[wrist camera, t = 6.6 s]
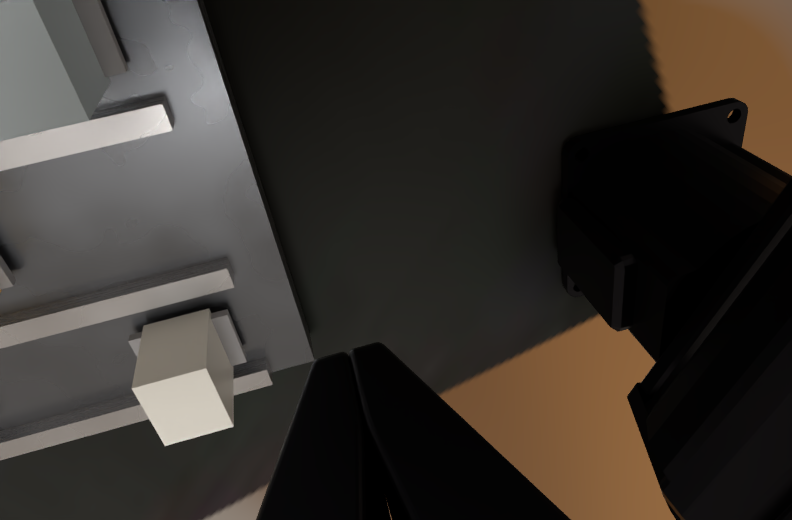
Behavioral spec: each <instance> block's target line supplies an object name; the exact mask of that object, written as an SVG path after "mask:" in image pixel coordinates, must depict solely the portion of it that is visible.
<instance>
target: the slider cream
mask: <svg viewBox="0 0 792 520" xmlns="http://www.w3.org/2000/svg"><path fill="white" fill-rule="evenodd" d="M128 342H129V344H130V346H131V347H132V349H133V351H134V353H135V355H136V356H137V362H136V367H135V373H134V378H133V383H132V388H131V389H132V390H133V392H134V394H135V395H136V397H137V399H138V401H139V402H140V404H141V406H142V407H143V409H144V411H145V413H146V414H147V416H148V418H149V419H150V421H151V423H152V425H153V426H154V428H155V430H156V431H157V433H158V435H159V436H160V438H161V440H162V442H163V443H164V445H165V446H167V445H170V444H174V443H177V442H181V441H184V440H188V439H192V438H195V437H199V436H202V435H206V434H209V433H213V432H216V431H220V430H223V429H227V428H230V427H234V391H233V366H234V365H238V364H241V363H245V362H247V355H246V353H245V351H244V348H243V346H242V343H241V341H240V338H239V336H238V334H237V331H236V329H235V326H234V324H233V321H232V319H231V317H230V314H229V312H228V309H226V310H222V311H218V312H214V313H211V312H210V309H209V308H208V309H205V310H201V311H197V312H193V313H190V314H186V315H182V316H178V317H174V318H171V319H167V320H163V321H159V322H155V323H152V324H148V325H144V326H143V330H142V332H139V333H135V334H131V335H129V339H128Z"/></svg>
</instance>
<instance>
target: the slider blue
mask: <svg viewBox="0 0 792 520" xmlns="http://www.w3.org/2000/svg"><path fill="white" fill-rule="evenodd" d="M127 70H128V66H127V64H126V62H125V59H124V57H123V54H122V52H121V49H120V47H119V45H118V42H117V40H116V37H115V35H114V32H113V30H112V28H111V25H110V23H109V20H108V18H107V15H106V13H105V11H104V8H103V6H102V3H101V1H100V0H0V141H3V140H7V139H12V138H16V137H20V136H25V135H29V134H33V133H38V132H42V131H46V130H51V129H55V128H59V127H64V126H68V125H73V124H77V123H81V122H86V121H89V120H90V119H91V117H92V115H93V113H94V111H95V109H96V108H97V106H98V104H99V102H100V100H101V99H102V97H103V95H104V93H105V91H106V89H107V88H108V86H109V84H110V82H111V81H110V79H109V76H112V75H116V74H121V73H125V72H127Z"/></svg>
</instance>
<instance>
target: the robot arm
mask: <svg viewBox="0 0 792 520" xmlns="http://www.w3.org/2000/svg"><path fill="white" fill-rule="evenodd" d="M732 110H733V113H732V115H731V116H730V117H729V118H727V117H728V115H729V113H730V112H731V111H732ZM747 114H748V107H747V105H746V104H745V103H743V102H741V101H739V100H737V99H735V98H728V99H724V100H720V101H716V102H712V103H708V104H704V105H700V106H696V107H692V108H688V109H684V110H680V111H676V112H672V113H668V114H664V115H660V116H656V117H652V118H648V119H644V120H640V121H636V122H632V123H628V124H624V125H620V126H616V127H612V128H608V129H604V130H600V131H596V132H592V133H588V134H584V135H580V136H576V137H574V138H572V139H570V140H569V141H568V142H567V143H566V145H565V146H564V148H563V152H562V200H561V201H560V203H559V205H558V207H557V244H558V263H559V265H560V266H561V267H562V269H563V287H564V288H565V290H566V291H567V292H568V293H569V294H570V295H571V296H573V297H578V296H583V295H585V297H586V298H587V299H588V300H589V302H590V303H591V304H592V305H593V307H594V308H595V309H596V310H597V311H598V313H599V314H600V315H601V316H602V318H603V319H604V320H605V321H606V322H607V324H608V325H609V326H610V327H611V328H613V329H615V330H616V331H622V330H626V329H628V330H629V331H630V332H631V333H632V334H633V336H634V337H635V338H636V339H637V340H638V341H639V343H640V344H641V345H642V346H643V347H644V349H645V350H646V351H647V352H648V353H649V354H650V356H651V357H652V358H653V359H654V360H655V362H656V363H655V365H654V366H653V367H652V369H651V370H650V371H649V373H648V374H647V376H646V377H645V378H644V380H643V381H642V382H641V383H637V384H636V385H635V386H634V388H633V389H632V390H631V392H630V393H629V394H628V396H627V398H628V401H629V404H630V406H631V409H632V412H633V414H634V417H635V420H636V422H637V425H638V428H639V431H640V433H641V436H642V439H643V442H644V444H645V447H646V450H647V452H648V455H649V458H650V461H651V463H652V466H653V469H654V471H655V474H656V477H657V480H658V482H659V485H660V488H661V491H662V494H663V497H664V498H665V500H666V502H667V504H668V507H669V509H670V511H671V512H672V514H673V515H674V517H675V518H676V520H792V176H791V175H789V174H787V173H786V172H784V171H782V170H780V169H778V168H777V167H775V166H773V165H771V164H770V163H768V162H766V161H764V160H762V159H761V158H759V157H757V156H755V155H753V154H752V153H750V152H748V151H746V150H745V149H743V148H742V142H743V136H744V131H745V125H746V120H747ZM581 148H584V149H583V152H582V153H581V155H580V156H578V157H575V153H576V152H577V151H578V150H579V149H581ZM575 284H576V285H575ZM574 285H575V286H574ZM349 358H350V359H349ZM387 503H388V504H387ZM388 507H389V508H388ZM389 510H390V513H389ZM390 514H391V517H392V520H571V519H569V518H568V517H567V516H566V515H565V514H564V513H563V512H562V511H561V510H560V509H559V508H558V507H557V506H556V505H554V503H552V502H551V501H550V500H549V499H548V498H547V497H546V496H545V495H544V494H543V493H542V492H541V491H540V490H538V489H537V488H536V487H535V486H534V485H533V484H532V483H531V482H530V481H529V480H528V479H527V478H526V477H525V476H524V475H522V474H521V473H520V472H519V471H518V470H517V469H516V468H515V467H514V466H513V465H512V464H511V463H510V462H509V461H508V460H507V459H505V458H504V457H503V456H502V455H501V454H500V453H499V452H498V451H497V450H496V449H495V448H494V447H493V446H492V445H491V444H490V443H488V442H487V441H486V440H485V439H484V438H483V437H482V436H481V435H480V434H479V433H478V432H477V431H476V430H475V429H474V428H472V427H471V426H470V425H469V424H468V423H467V422H466V421H465V420H464V419H463V418H462V417H461V416H460V415H459V414H458V413H456V412H455V411H454V410H453V409H452V408H451V407H450V406H449V405H448V404H447V403H446V402H445V401H444V400H443V399H441V398H440V397H439V396H438V395H437V394H436V393H435V392H434V391H433V390H432V389H431V388H430V387H429V386H428V385H427V384H425V383H424V382H423V381H422V380H421V379H420V378H419V377H418V376H417V375H416V374H415V373H414V372H413V371H412V370H411V369H409V368H408V367H407V366H406V365H405V364H404V363H403V362H402V361H401V360H400V359H399V358H398V357H397V356H396V355H395V354H393V353H392V352H391V351H390V350H389V349H388V348H387V347H386V346H385V345H384V344H382V343H379V342H376V343H372V344H368V345H365V346H361V347H358V348H354V349H352V350H351V351H350V353H349V356H348V354H347V353H345V352H340V353H336V354H332V355H329V356H325V357H321V358H318V359H316V360H315V361H314V362H313V364H312V367H311V369H310V372H309V375H308V377H307V380H306V383H305V386H304V389H303V391H302V394H301V397H300V400H299V402H298V405H297V408H296V411H295V413H294V416H293V419H292V422H291V425H290V427H289V430H288V433H287V436H286V438H285V441H284V444H283V447H282V449H281V452H280V455H279V458H278V460H277V463H276V466H275V469H274V472H273V474H272V477H271V480H270V483H269V485H268V488H267V491H266V494H265V496H264V499H263V502H262V505H261V508H260V510H259V513H258V516H257V519H256V520H391V517H390Z"/></svg>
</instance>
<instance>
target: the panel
mask: <svg viewBox="0 0 792 520" xmlns="http://www.w3.org/2000/svg"><path fill="white" fill-rule="evenodd" d="M100 1H101V3H102V6H103V8H104V11H105V13H106V15H107V18H108V20H109V23H110V25H111V28H112V30H113V32H114V35H115V37H116V40H117V42H118V45H119V47H120V49H121V52H122V54H123V57H124V59H125V62H126V64H127V66H128V70H127V72H125V73H121V74H116V75H112V76H109V79H110V81H111V82H110V84H109V86H108V88H107V89H106V91H105V93H104V95H103V97H102V99H101V100H100V102H99V104H98V106H97V108H96V109H95V111H94V113H93V115H92V117H91V119H90V120H89V121H86V122H81V123H77V124H73V125H68V126H64V127H59V128H55V129H51V130H46V131H42V132H38V133H33V134H29V135H25V136H20V137H16V138H12V139H7V140H3V141H0V255H1V257H2V258H3V260H4V261H5V263H6V264H7V266H8V268H9V269H10V271H11V272H12V274H13V275H14V277H15V278H16V282H15V284H14V286H12V287H8V288H4V289H1V290H2V291H1V293H0V460H3V459H7V458H11V457H14V456H18V455H21V454H25V453H28V452H32V451H36V450H39V449H43V448H46V447H50V446H54V445H57V444H61V443H64V442H68V441H72V440H75V439H79V438H82V437H86V436H90V435H93V434H97V433H100V432H104V431H108V430H111V429H115V428H118V427H122V426H126V425H129V424H133V423H136V422H140V421H144V420H147V419H149V418H148V416H147V414H146V413H145V411H144V409H143V407H142V406H141V404H140V402H139V401H138V399H137V397H136V395H135V394H134V392H133V390H132V389H131V388H132V383H133V378H134V373H135V367H136V362H137V356H136V355H135V353H134V351H133V349H132V347H131V346H130V344H129V342H128V339H129V335H131V334H135V333H139V332H142V330H143V326H144V325H148V324H152V323H155V322H159V321H163V320H167V319H171V318H174V317H178V316H182V315H186V314H190V313H193V312H197V311H201V310H205V309H208V308H209V309H210V312H211V313H214V312H218V311H222V310H226V309H228V312H229V314H230V317H231V319H232V321H233V324H234V326H235V329H236V331H237V334H238V336H239V338H240V341H241V343H242V346H243V348H244V351H245V353H246V355H247V362H245V363H241V364H238V365H234V366H233V391H234V395H237V394H241V393H244V392H248V391H251V390H255V389H259V388H262V387H266V386H269V385H273V383H272V372H275V371H278V370H282V369H286V368H289V367H293V366H296V365H300V364H304V363H307V362H311V361H314V355H313V349H312V343H311V337H310V332H309V329H308V326H307V323H306V320H305V317H304V314H303V310H302V307H301V304H300V301H299V298H298V295H297V292H296V289H295V285H294V282H293V279H292V276H291V273H290V270H289V267H288V264H287V261H286V257H285V254H284V251H283V248H282V245H281V242H280V239H279V236H278V233H277V229H276V226H275V223H274V220H273V217H272V214H271V211H270V208H269V204H268V201H267V198H266V195H265V192H264V189H263V186H262V183H261V180H260V176H259V173H258V170H257V167H256V164H255V161H254V158H253V155H252V151H251V148H250V145H249V142H248V139H247V136H246V133H245V130H244V127H243V123H242V120H241V117H240V114H239V111H238V108H237V105H236V102H235V98H234V95H233V92H232V89H231V86H230V83H229V80H228V77H227V74H226V70H225V67H224V64H223V61H222V58H221V55H220V52H219V49H218V45H217V42H216V39H215V36H214V33H213V30H212V27H211V24H210V21H209V17H208V14H207V11H206V8H205V5H204V2H203V0H100Z"/></svg>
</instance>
